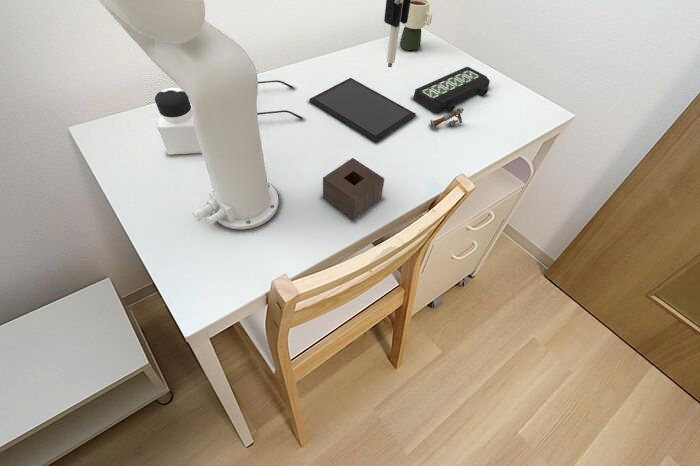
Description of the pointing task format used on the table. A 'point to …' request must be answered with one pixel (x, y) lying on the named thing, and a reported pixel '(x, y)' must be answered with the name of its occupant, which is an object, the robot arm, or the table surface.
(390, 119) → the tablet
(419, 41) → the character mug
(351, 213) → the block
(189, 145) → the medicine bottle
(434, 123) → the wooden post with brackets
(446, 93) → the digital display
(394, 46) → the stylus
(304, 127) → the table surface
